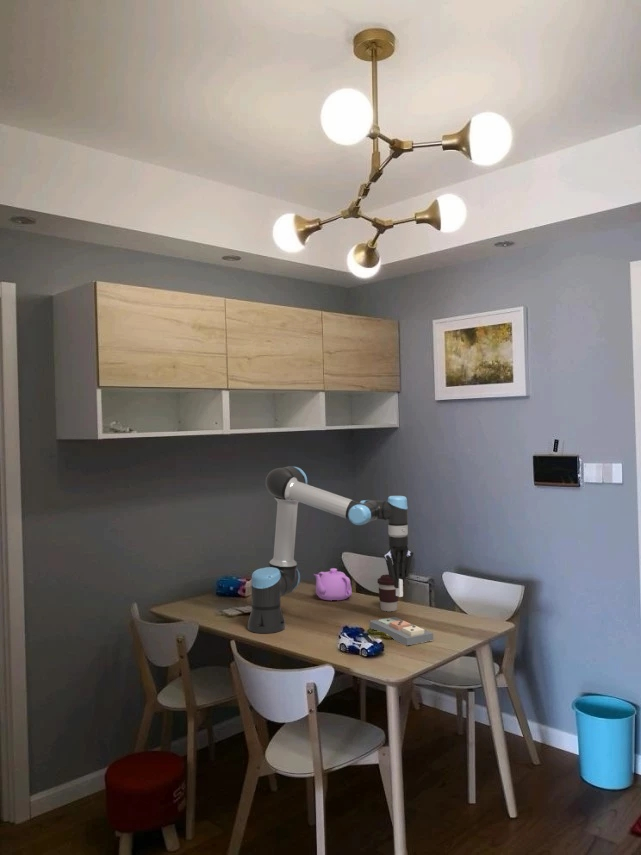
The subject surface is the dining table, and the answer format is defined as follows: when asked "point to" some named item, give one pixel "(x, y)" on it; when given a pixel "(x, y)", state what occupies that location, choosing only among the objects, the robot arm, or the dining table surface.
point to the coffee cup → (387, 594)
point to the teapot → (333, 585)
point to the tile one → (386, 621)
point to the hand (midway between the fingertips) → (399, 595)
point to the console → (400, 633)
